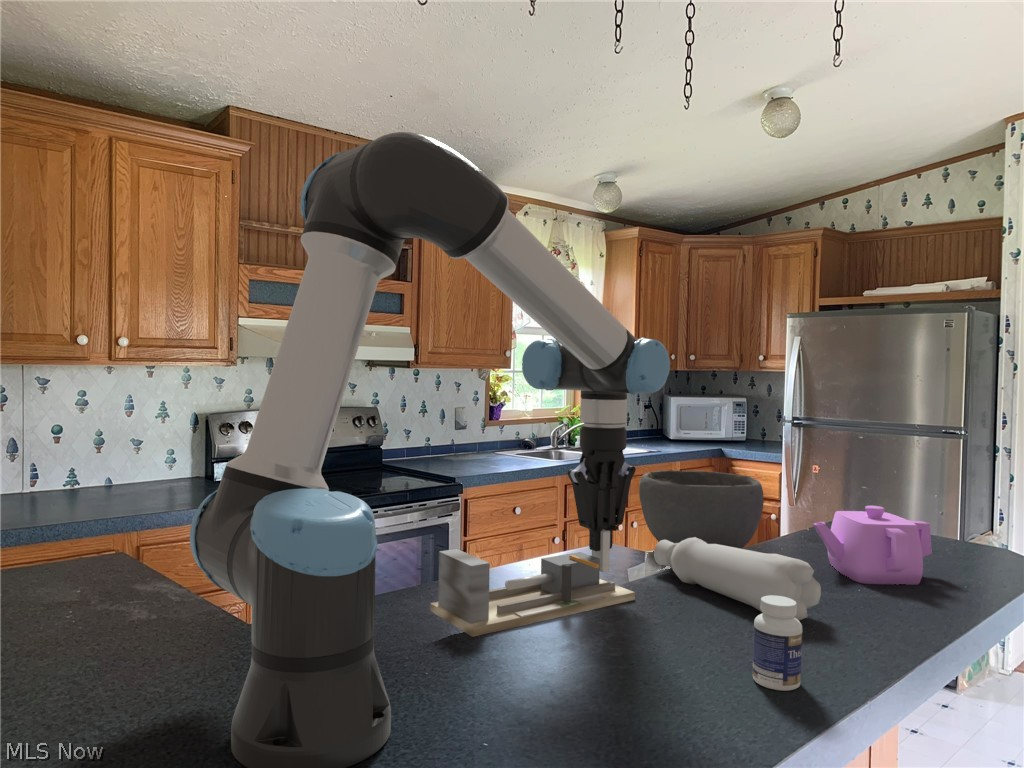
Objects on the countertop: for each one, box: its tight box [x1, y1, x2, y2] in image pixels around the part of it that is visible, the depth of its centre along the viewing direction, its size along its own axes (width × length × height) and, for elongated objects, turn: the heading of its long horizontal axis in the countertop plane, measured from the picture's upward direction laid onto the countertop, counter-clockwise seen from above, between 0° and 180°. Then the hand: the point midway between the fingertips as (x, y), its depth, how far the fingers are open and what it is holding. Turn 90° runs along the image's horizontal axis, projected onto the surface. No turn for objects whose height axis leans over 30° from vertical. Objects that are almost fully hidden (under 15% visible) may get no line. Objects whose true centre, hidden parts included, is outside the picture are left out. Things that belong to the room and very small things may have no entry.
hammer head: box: [562, 564, 572, 603], centre depth 110 cm, size 1×1×5 cm
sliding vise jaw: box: [504, 551, 601, 594], centre depth 113 cm, size 9×16×5 cm, turn 125°
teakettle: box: [812, 505, 933, 586], centre depth 134 cm, size 17×17×12 cm
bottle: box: [653, 537, 822, 621], centre depth 120 cm, size 9×9×30 cm
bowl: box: [638, 469, 765, 549], centre depth 148 cm, size 24×24×15 cm
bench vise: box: [429, 548, 636, 638], centre depth 113 cm, size 12×30×9 cm, turn 125°
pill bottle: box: [752, 595, 803, 692], centre depth 87 cm, size 5×5×10 cm
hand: (600, 569), depth 120 cm, fingers closed
